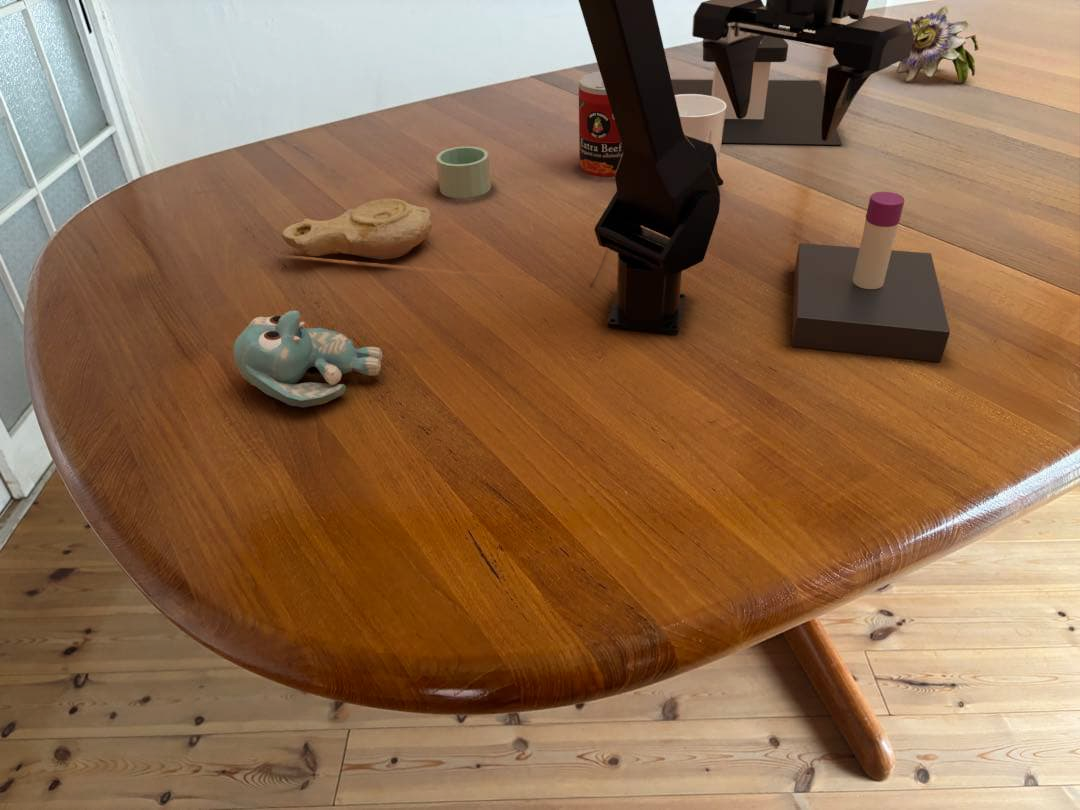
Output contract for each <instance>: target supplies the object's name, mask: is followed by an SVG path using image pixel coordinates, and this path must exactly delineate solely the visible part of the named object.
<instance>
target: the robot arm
mask: <svg viewBox="0 0 1080 810" xmlns="http://www.w3.org/2000/svg"><path fill="white" fill-rule="evenodd" d="M577 1H578V3H579V7H580V10H581V13H582V18H583V20H584V23H585V27H586V30H587V34H588V37H589V41H590V43H591V47H592V49H593V54H594V57H595V60H596V63H597V67H598V70H599V71H600V73H601V77H602V80H603V83H604V87H605V90H606V93H607V97H608V100H609V103H610V107H611V110H612V113H613V116H614V120H615V123H616V126H617V130H618V133H619V136H620V140H621V143H622V147H623V153H622V156H621V158H620V161H619V164H618V167H617V169H616V172H615V177H614V181H615V186H616V187H615V188H616V192H615V193H614V195H613V197H612V198H611V200H610V201H609V203H608V205H607V207H606V208H605V209H604V211H603V213H602V214H601V216H600V218H599V219H598V221H597V222H596V225H595V226H594V230H593V231H594V233H595V237H596V240H597V243H598V246H600V247H602V248H607V249H609V250H610V251H613V252H615V253H617V277H616V281H617V282H616V296H615V299H614V300H613V304H612V306H611V308H610V312H609V315H608V318H607V322H606V323H607V327H609V328H613V329H614V328H615V329H624V330H633V331H643V332H651V333H661V334H670V335H676V334H678V333H679V332H680V329H681V324H682V320H683V317H684V312H685V309H686V308H685V307H686V303H687V298H688V297H687V295H686V294H684V293H681V287H682V286H681V285H682V272H684V271H685V270H688V269H689V268H692V267H694V266H696V265H698V264H700V263H702V262H703V261H704V260H705V257H706V254H707V251H708V248H709V244H710V242H711V239H712V235H713V232H714V229H715V226H716V223H717V220H718V217H719V213H720V207H721V194H720V188H719V187H720V186H723V185H724V183H725V182H724V180H723V179H722V177H721V175H720V173H719V171H718V170H719V169H718V166H717V154H716V151H715V149H714V147H713V145H712V144H710V143H707V142H704V141H701V140H698V139H695V138H692V137H689V136H686V135H685V134H684V132H683V129H682V125H681V120H680V116H679V112H678V107H677V103H676V99H675V94H674V90H673V86H672V81H671V80H672V77H671V73H670V69H669V63H668V60H667V56H666V51H665V47H664V42H663V38H662V33H661V30H660V26H659V21H658V17H657V11H656V7H655V3H654V0H577ZM869 1H870V0H766V1H765V5H764V3H763V1H762V0H705V1H701V3H700V4H699V6H697V8H696V10H695V12H694V13H693V17H692V30H691V32H692V33H691V35H692V37H694V38H698V39H702V49H703V48H705V49H708V50H709V51H710V53H711V55H712V57H713V59H714V61H715V62H714V63H716V66H717V68H718V70H719V72H720V74H721V76H722V79H723V81H724V84H725V86H726V89H727V92H728V95H729V97H730V100H731V103H732V106H733V108H734V111H735V114H736V117H737V118H738V119H742V118H744V117H746V115H747V111H748V107H749V102H750V94H751V84H752V74H753V65H754V57H755V53H756V51H757V49H758V47H759V45H760V43H761V40H762V38H763V36H764V35H765V36H770V37H776V38H781V39H784V40H786V41H792V42H798V43H803V44H809V45H815V46H820V47H825V48H830V49H832V50H833V52H832V55H833V57H834V59H835V60H836V62H837V63H835V64H834V65H831V66H829V67H827V71H826V78H825V86H824V87H825V88H824V96H825V97H824V106H823V116H822V125H821V130H822V140H823V141H827V140H829V139H831V138H832V136H833V135H834V133H835V131H836V129H838V127H839V125H840V124H841V122H842V120H843V119H844V117H845V115H846V113H847V111H848V109H850V106H851V105H852V102H853V101H854V99H855V97H856V96H857V94H858V92H859V91H860V90H861V88H862V87H863V86H864V84H865V83H866V82H867V80H868V79H869V78H870V77H871V76H872V75H874V74H876V73H878V72H880V71H882V70H885V69H888V68H889V67H890V66H893V65H895V64H897V63H900V61H901V60H904V59H906V58H908V57H910V53H911V49H912V44H913V40H914V34H913V30H912V28H911V25H910V20H904V19H897V18H890V17H883V16H877V15H868V16H866V17H864V16H865V13H866V10H867V6H868V3H869ZM847 17H849V18H850V19H851V20H855V21H852V22H850V23H846V24H844V23H838V22H833V21H834V19H839V20H840V19H841V20H842V19H844V18H847ZM786 27H787V28H786ZM809 31H810V32H809ZM703 39H708V40H705V41H703Z"/></svg>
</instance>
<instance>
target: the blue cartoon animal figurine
mask: <svg viewBox="0 0 1080 810" xmlns="http://www.w3.org/2000/svg"><path fill="white" fill-rule="evenodd" d="M305 325H306V322H305V321H301V312H300V311H299V310H295V309H294V310H289V311H287V312H285V313H284V314H282V315H279V314H278V315H271V316H265V317H264V316H257V317H255V318H253V319H252V320H251V321H250V323H249V324H248V325H247V326H246V327H245V328H244V330H242V331H241V333H240V334H239V335H238V337H237V338H236V339H235V341H234V344H233V346H232V347H233V349H232V351H233V360H234V362H235V365H236V368H237V370H238V372H239V374H240V375H241V376H242V379H244V380H245V381H247V382H248V383H249V384H250V385H251V386H252V387H253V386H254V387H256V388H257V389H258V390H260V391H261V392H263V393H264V394H266V395H267V396H270V397H272V398H274V399H276V400H279V401H280V402H282V403H284V404H286V405H288V406H291V407H299V408H308V407H315V406H319V405H324V404H327V403H328V402H331V401H333V400H335V399H337V398H339V397H341V396H343V395H344V394H346V391H347V386H346V385H345V384H344V383H339V382H340V381H341V379H342V376H343V375H345V374H348V373H351V372H352V371H355V372H358V373H360V374H362V375H365V376H369V377H370V376H372V377H373V376H375V377H376V376H378V375H379V374H380V372H381V370H382V365H381V364H382V363H381V362H382V361H383V358H384V357H383V351H382V350H381V347H376V346H368V345H367V346H363V347H360V348H356V347H355V345H354V341H352V339H351V338H349V337H347V336H346V335H345V334H343V333H340V332H338V331H335V330H331V329H327V328H323V327H311V328H305ZM312 367H313V368H316V369H317V370H318V371H319V373H320V374H321V376H322V377H323V379H324V381H325V382H327V383H324V382H323V383H322V382H312V381H308V382H301V383H299V381H300V380H301V379H302V378H303V377H304V376H305V374H306V373H307V371H308V370H309V369H310V368H312Z"/></svg>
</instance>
